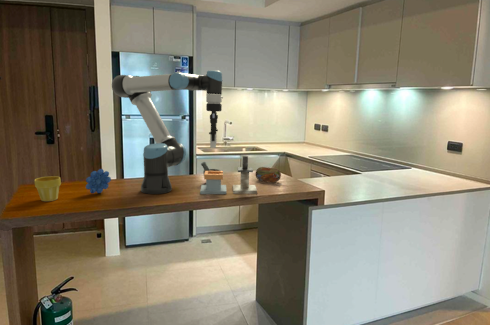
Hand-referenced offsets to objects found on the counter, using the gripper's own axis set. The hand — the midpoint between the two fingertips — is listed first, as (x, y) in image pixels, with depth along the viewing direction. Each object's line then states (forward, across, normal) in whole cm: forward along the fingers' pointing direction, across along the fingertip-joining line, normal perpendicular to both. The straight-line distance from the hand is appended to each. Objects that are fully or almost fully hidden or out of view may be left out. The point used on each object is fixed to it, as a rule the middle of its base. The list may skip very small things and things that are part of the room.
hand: (213, 145), depth 179 cm
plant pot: (+24, -17, +74) cm, 79 cm away
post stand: (+23, +1, -16) cm, 28 cm away
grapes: (+24, -5, +56) cm, 61 cm away
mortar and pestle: (+24, +18, +2) cm, 30 cm away
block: (+23, 0, 0) cm, 23 cm away
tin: (+23, +22, -32) cm, 45 cm away
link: (+16, 0, 0) cm, 16 cm away
